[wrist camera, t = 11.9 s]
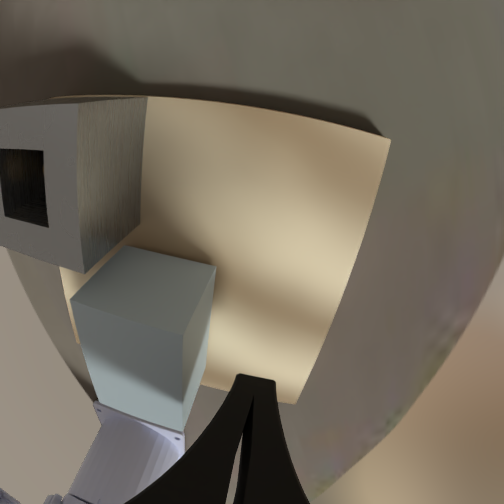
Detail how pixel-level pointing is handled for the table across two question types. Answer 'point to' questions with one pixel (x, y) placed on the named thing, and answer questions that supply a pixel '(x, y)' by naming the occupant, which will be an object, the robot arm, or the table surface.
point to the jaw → (70, 177)
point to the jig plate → (255, 225)
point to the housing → (146, 333)
